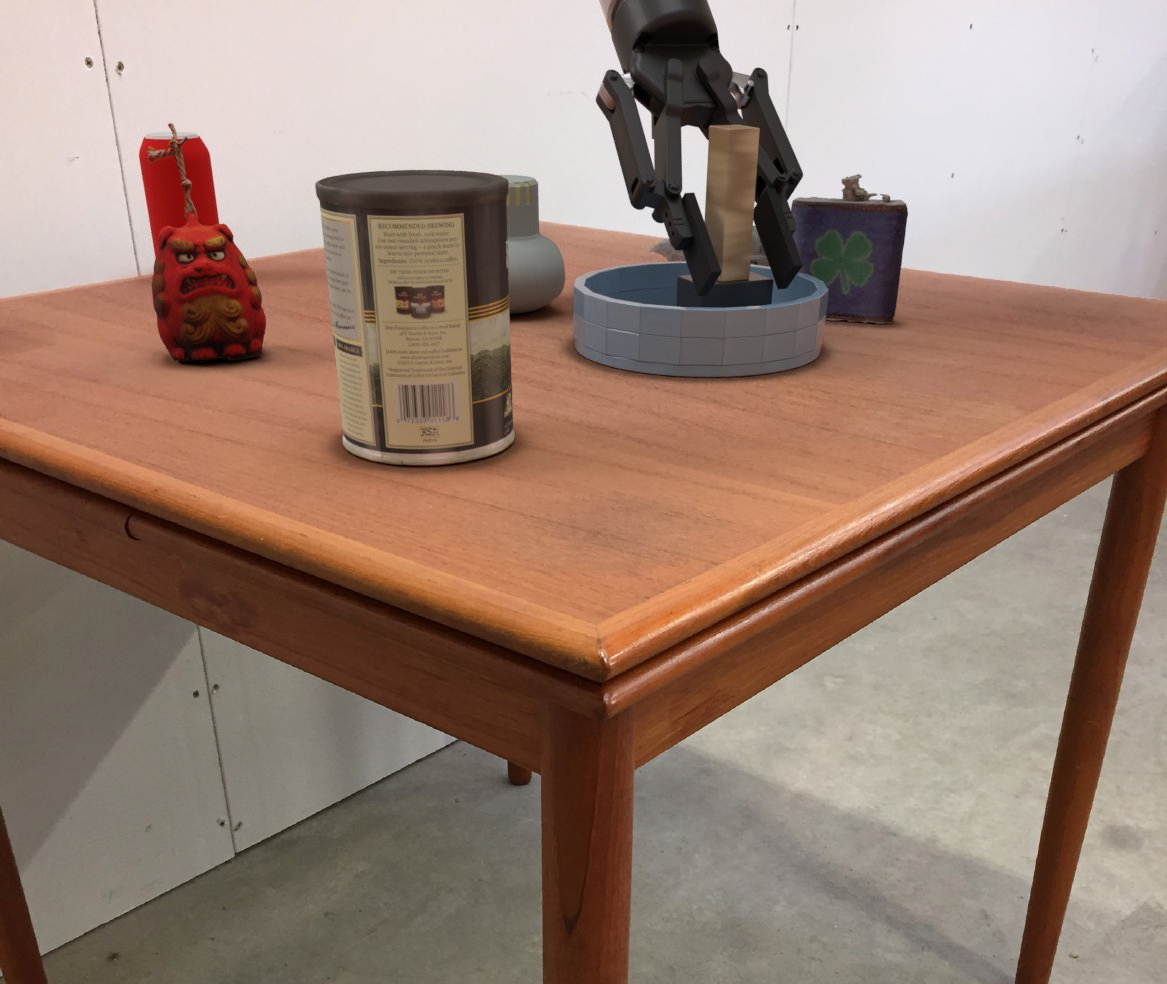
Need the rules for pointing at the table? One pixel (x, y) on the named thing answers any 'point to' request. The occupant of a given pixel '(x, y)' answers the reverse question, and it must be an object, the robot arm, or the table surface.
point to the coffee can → (420, 313)
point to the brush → (730, 222)
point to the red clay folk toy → (204, 286)
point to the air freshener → (530, 250)
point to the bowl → (693, 324)
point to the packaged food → (677, 255)
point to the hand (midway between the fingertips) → (750, 280)
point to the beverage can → (177, 183)
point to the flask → (853, 250)
